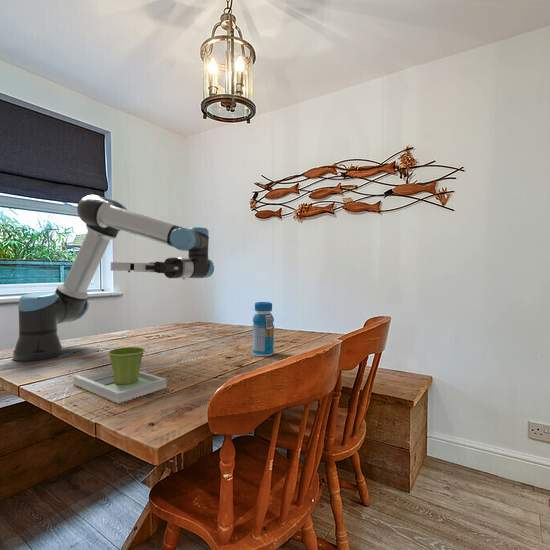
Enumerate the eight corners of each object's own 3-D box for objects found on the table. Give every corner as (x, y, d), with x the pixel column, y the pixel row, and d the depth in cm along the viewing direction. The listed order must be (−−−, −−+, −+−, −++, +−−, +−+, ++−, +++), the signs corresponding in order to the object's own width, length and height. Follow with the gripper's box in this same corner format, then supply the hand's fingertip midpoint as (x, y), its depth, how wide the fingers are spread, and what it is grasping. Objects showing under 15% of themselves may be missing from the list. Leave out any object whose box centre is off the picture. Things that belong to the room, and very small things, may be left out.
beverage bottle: (251, 356, 128) (251, 303, 128) (252, 351, 137) (253, 301, 137) (273, 357, 128) (274, 303, 128) (274, 351, 137) (274, 301, 136)
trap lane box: (73, 384, 96) (73, 376, 96) (120, 372, 108) (120, 364, 108) (118, 403, 83) (118, 393, 83) (166, 387, 94) (166, 379, 94)
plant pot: (136, 374, 102) (137, 345, 102) (150, 382, 95) (150, 351, 95) (103, 381, 95) (103, 350, 95) (114, 390, 89) (114, 356, 88)
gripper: (200, 279, 118) (145, 280, 100) (156, 276, 132) (102, 277, 115) (201, 257, 117) (146, 254, 100) (157, 257, 132) (102, 254, 115)
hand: (122, 266), depth 108 cm, fingers open, 13 cm apart
